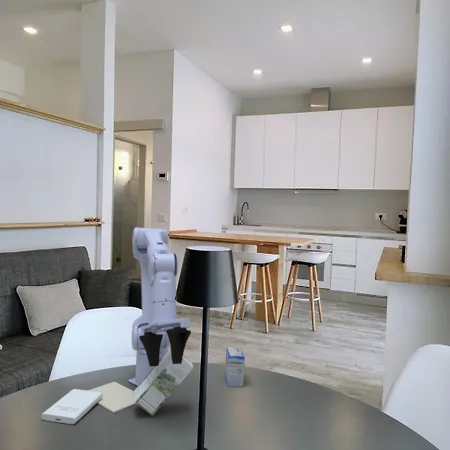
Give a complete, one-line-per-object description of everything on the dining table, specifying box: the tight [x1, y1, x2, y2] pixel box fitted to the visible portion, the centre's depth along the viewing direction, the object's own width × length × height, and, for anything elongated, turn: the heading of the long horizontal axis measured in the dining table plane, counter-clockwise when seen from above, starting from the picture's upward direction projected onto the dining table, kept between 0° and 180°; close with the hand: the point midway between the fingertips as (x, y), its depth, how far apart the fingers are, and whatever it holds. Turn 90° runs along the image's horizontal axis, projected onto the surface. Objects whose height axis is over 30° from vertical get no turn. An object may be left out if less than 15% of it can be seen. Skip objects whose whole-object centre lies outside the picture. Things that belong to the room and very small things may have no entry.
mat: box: [87, 381, 138, 414], centre depth 103 cm, size 10×14×1 cm
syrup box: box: [132, 347, 194, 417], centre depth 97 cm, size 6×6×14 cm
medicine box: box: [224, 346, 246, 388], centre depth 117 cm, size 8×4×9 cm, turn 6°
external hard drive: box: [40, 388, 103, 425], centre depth 96 cm, size 2×8×12 cm
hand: (165, 365), depth 90 cm, fingers open, 7 cm apart
